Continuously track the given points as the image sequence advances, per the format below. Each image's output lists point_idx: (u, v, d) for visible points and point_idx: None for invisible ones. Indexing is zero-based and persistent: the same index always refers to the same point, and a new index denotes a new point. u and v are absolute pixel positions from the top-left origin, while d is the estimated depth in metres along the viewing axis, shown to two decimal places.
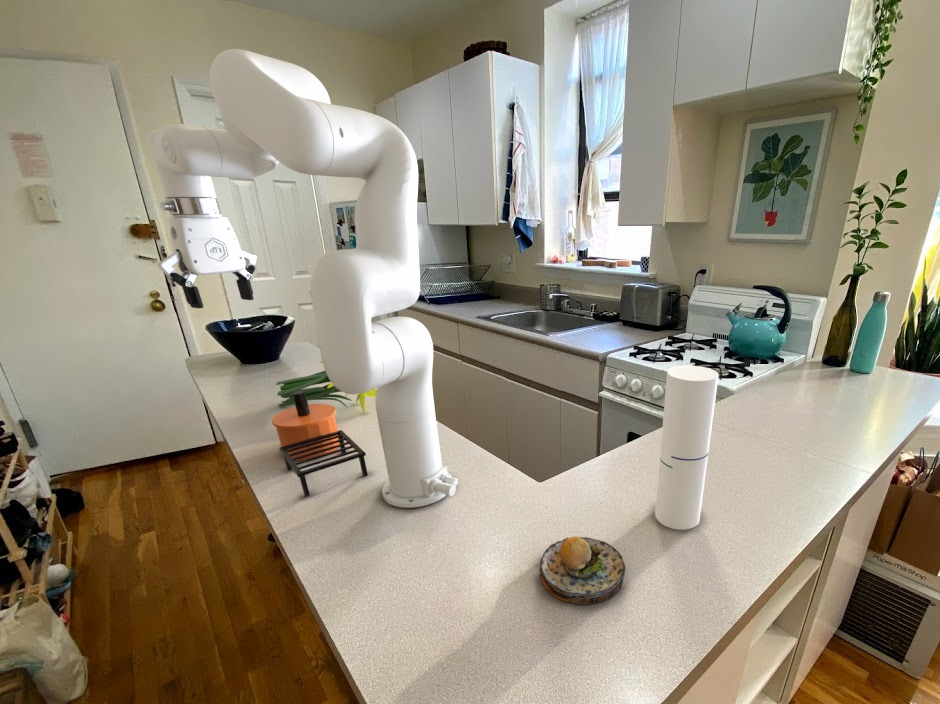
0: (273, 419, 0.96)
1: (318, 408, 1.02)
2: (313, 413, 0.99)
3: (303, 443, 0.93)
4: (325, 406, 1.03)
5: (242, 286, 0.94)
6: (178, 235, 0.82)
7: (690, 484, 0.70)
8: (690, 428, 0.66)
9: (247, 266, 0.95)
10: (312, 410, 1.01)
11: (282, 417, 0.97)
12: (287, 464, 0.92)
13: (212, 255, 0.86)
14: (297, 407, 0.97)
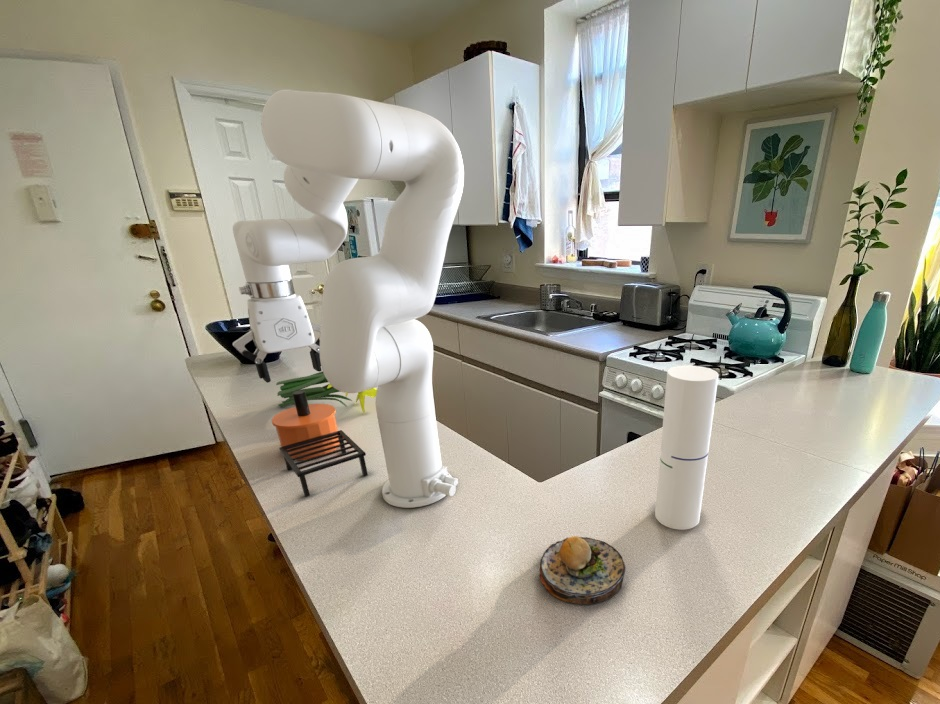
0: (273, 419, 0.96)
1: (318, 408, 1.02)
2: (313, 413, 0.99)
3: (303, 443, 0.93)
4: (325, 406, 1.03)
5: (313, 358, 0.97)
6: (251, 317, 0.86)
7: (690, 484, 0.70)
8: (690, 428, 0.66)
9: (319, 339, 0.97)
10: (312, 410, 1.01)
11: (282, 417, 0.97)
12: (287, 464, 0.92)
13: (281, 334, 0.89)
14: (297, 407, 0.97)
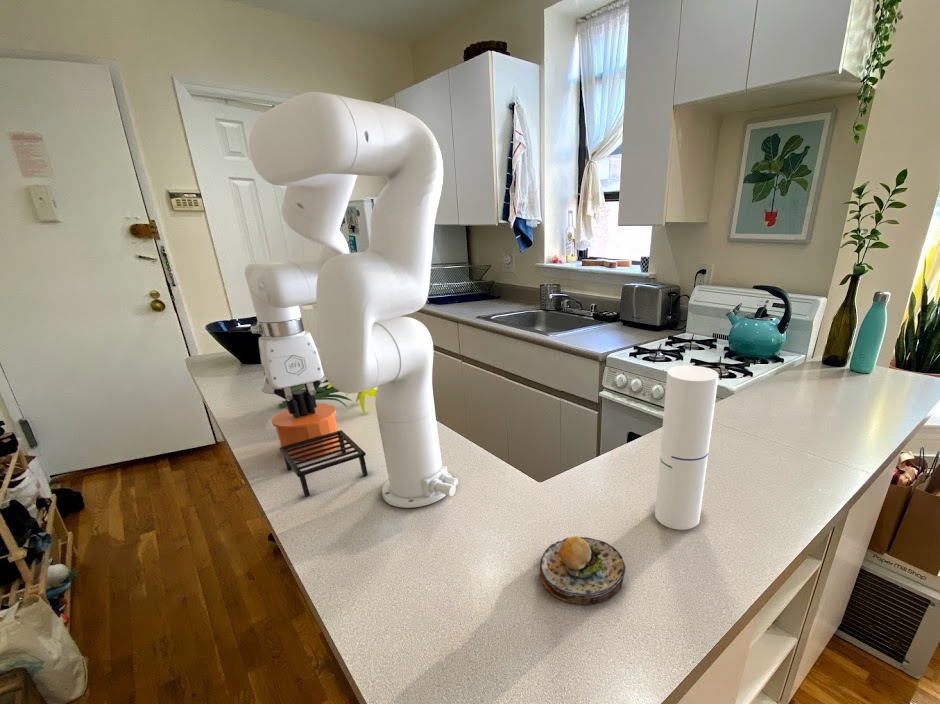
0: (273, 419, 0.96)
1: (318, 408, 1.02)
2: (313, 413, 0.99)
3: (303, 443, 0.93)
4: (325, 406, 1.03)
5: (307, 400, 0.98)
6: (262, 355, 0.89)
7: (690, 484, 0.70)
8: (690, 428, 0.66)
9: (313, 381, 0.98)
10: None
11: (282, 417, 0.97)
12: (287, 464, 0.92)
13: (291, 370, 0.92)
14: None
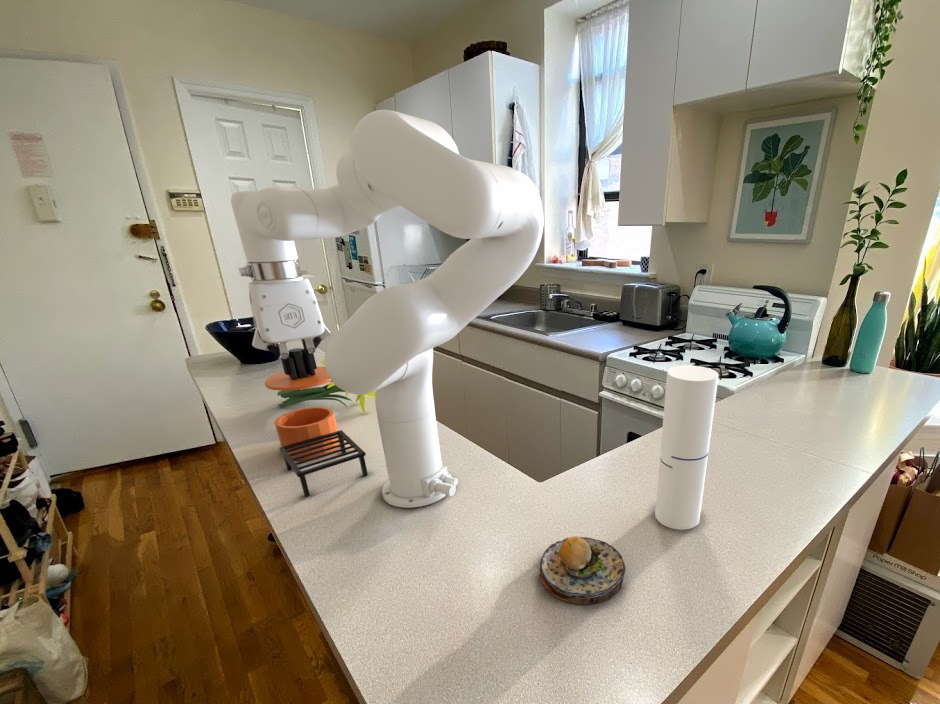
0: (266, 381, 0.83)
1: (318, 370, 0.88)
2: (313, 375, 0.86)
3: (303, 443, 0.93)
4: None
5: (306, 360, 0.85)
6: (252, 302, 0.76)
7: (690, 484, 0.70)
8: (690, 428, 0.66)
9: (313, 338, 0.85)
10: None
11: (276, 379, 0.84)
12: (287, 464, 0.92)
13: (286, 322, 0.79)
14: None
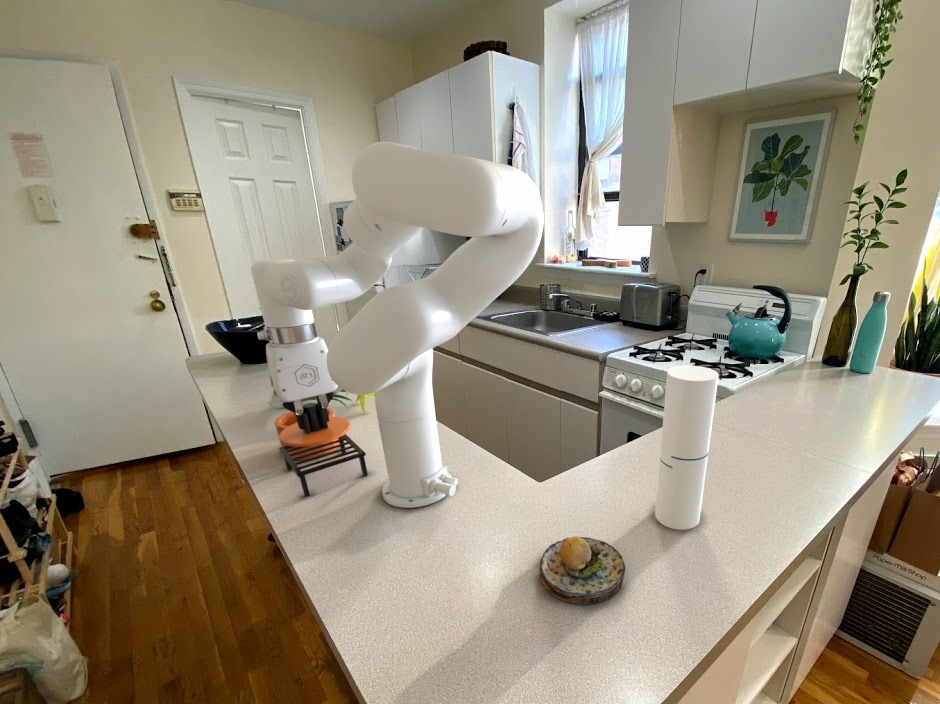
0: (281, 435, 0.86)
1: (330, 422, 0.91)
2: None
3: None
4: (338, 420, 0.92)
5: (319, 414, 0.88)
6: (270, 364, 0.79)
7: (690, 484, 0.70)
8: (690, 428, 0.66)
9: (326, 393, 0.88)
10: None
11: (291, 433, 0.87)
12: (287, 464, 0.92)
13: (302, 381, 0.82)
14: None
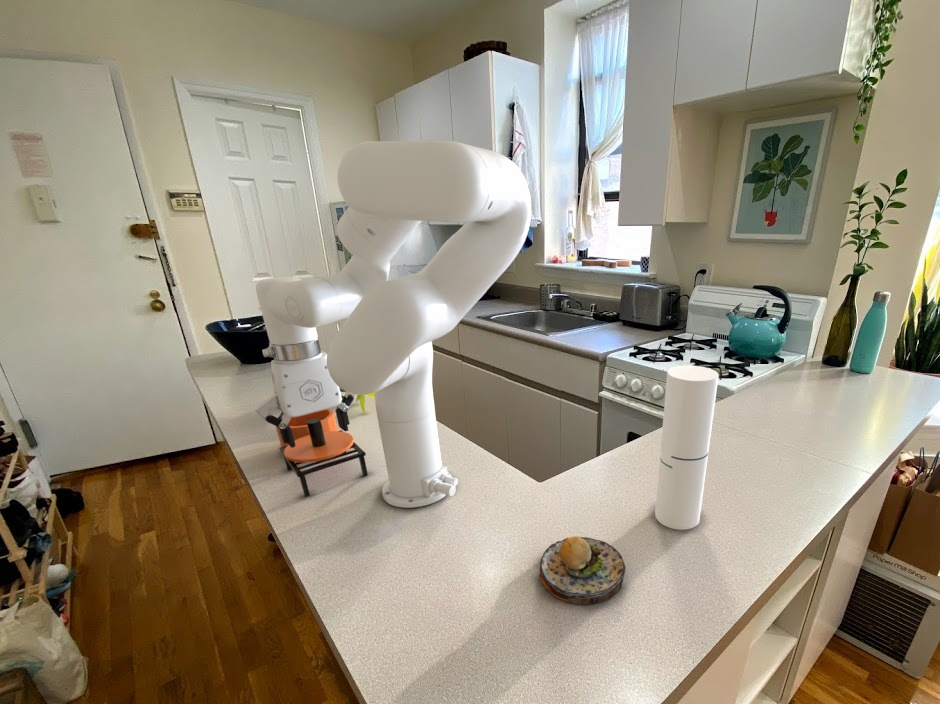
0: (285, 451, 0.87)
1: (334, 436, 0.93)
2: (329, 443, 0.90)
3: None
4: (342, 434, 0.93)
5: (339, 417, 0.90)
6: (275, 381, 0.80)
7: (690, 484, 0.70)
8: (690, 428, 0.66)
9: (346, 396, 0.90)
10: (328, 439, 0.91)
11: (295, 448, 0.88)
12: (287, 464, 0.92)
13: (307, 397, 0.83)
14: (312, 437, 0.88)
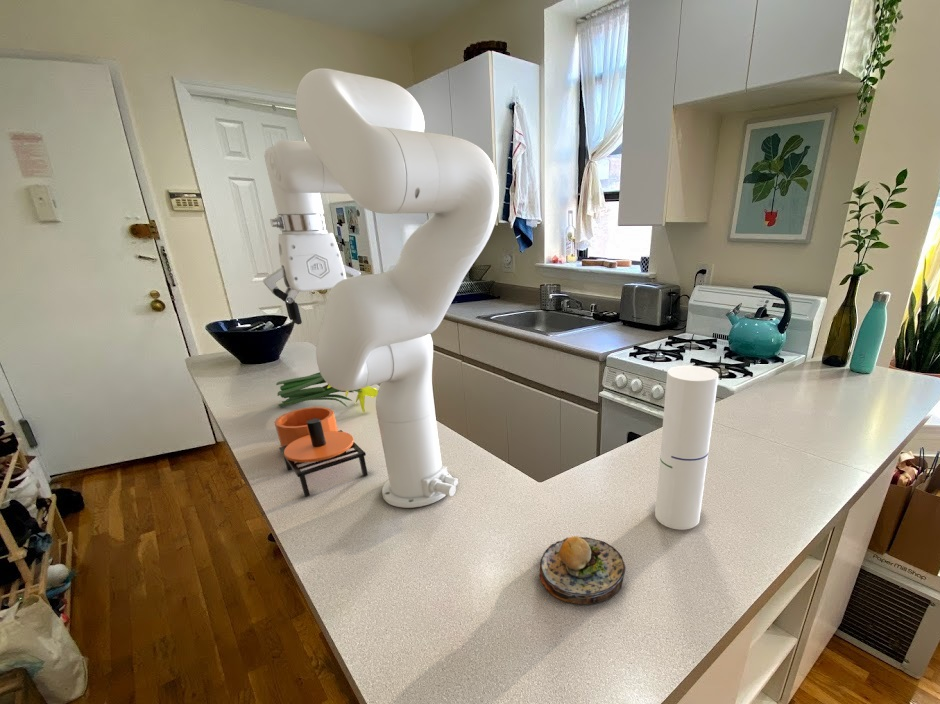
0: (285, 451, 0.87)
1: (334, 436, 0.93)
2: (329, 443, 0.90)
3: None
4: (342, 434, 0.93)
5: None
6: (283, 252, 0.82)
7: (690, 484, 0.70)
8: (690, 428, 0.66)
9: None
10: (328, 439, 0.91)
11: (295, 448, 0.88)
12: (287, 464, 0.92)
13: (313, 272, 0.85)
14: (312, 437, 0.88)
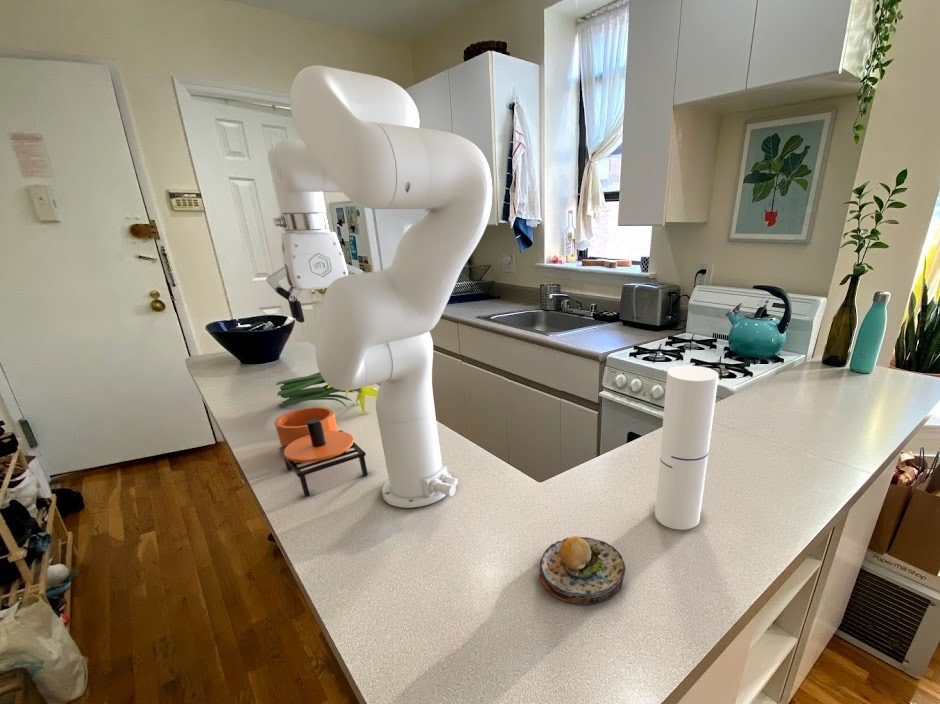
0: (285, 451, 0.87)
1: (334, 436, 0.93)
2: (329, 443, 0.90)
3: None
4: (342, 434, 0.93)
5: None
6: (285, 250, 0.83)
7: (690, 484, 0.70)
8: (690, 428, 0.66)
9: None
10: (328, 439, 0.91)
11: (295, 448, 0.88)
12: (287, 464, 0.92)
13: (315, 270, 0.86)
14: (312, 437, 0.88)
